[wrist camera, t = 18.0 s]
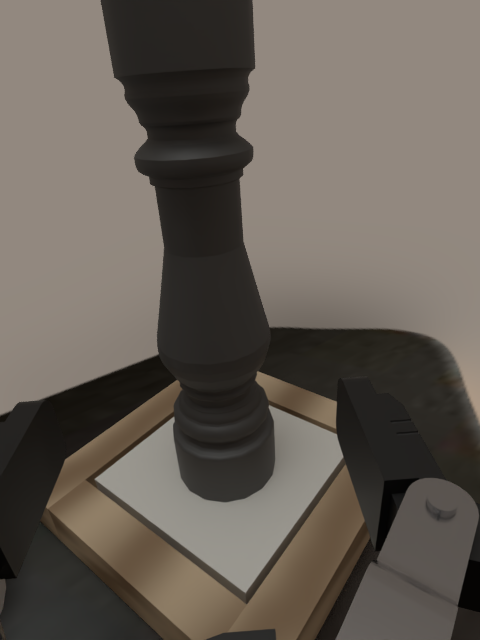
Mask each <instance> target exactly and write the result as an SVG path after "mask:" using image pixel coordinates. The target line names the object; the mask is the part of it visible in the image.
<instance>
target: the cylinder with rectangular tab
mask: <svg viewBox="0 0 480 640" xmlns="http://www.w3.org/2000/svg"><path fill="white" fill-rule="evenodd" d="M5 592H6V583H5V579H0V614H1V611H2V609H3V605H4V598H5Z"/></svg>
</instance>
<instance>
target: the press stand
mask: <svg viewBox="0 0 480 640" xmlns="http://www.w3.org/2000/svg"><path fill="white" fill-rule="evenodd" d="M255 381H257V383H258V384H259V385H260V386H261V387H263V388H264V390H265V393H266V395H267V398H268V401H269V405H270V406H272V407H275V408H277V409H279V410H282V411H284V412H286V413H288V414H291V415H293V416H295V417H298V418H300V419H302V420H305V421H307V422H309V423H312V424H314V425H316V426H319V427H321V428H323V429H325V430H328V431H330V432H332V433H335V434H337V430H336V410H337V402H336V401H333V400H330V399H328V398H325V397H323V396H320V395H317V394H315V393H312V392H310V391H307V390H304V389H302V388H299V387H297V386H294V385H292V384H289V383H286V382H284V381H281V380H279V379H276V378H273V377H271V376H268V375H266V374H263V373H260V372H258V371H257V376H256V379H255ZM181 390H182V388H181V387H180V382H179V381H178V380H176V381H175V382H174V383H172V384H171V385H169V386H168V387H167V388H165V389H164V390H162V391H161V392H160V393H158V394H157V395H155V396H154V397H153V398H151V399H150V400H148V401H147V402H146V403H144V404H143V405H141V406H140V407H139V408H137V409H136V410H134V411H133V412H132V413H130V414H129V415H127V416H126V417H125V418H123V419H122V420H120V421H119V422H118V423H116V424H115V425H113V426H112V427H111V428H109V429H108V430H106V431H105V432H104V433H102V434H101V435H99V436H98V437H97V438H95V439H94V440H92V441H91V442H90V443H88V444H87V445H85V446H84V447H82V448H81V449H80V450H78V451H77V452H75V453H74V454H73V455H71V456H70V457H68V458H67V459H66V460H65V461H64V464H63V467H62V469H61V472H60V474H59V477H58V479H57V481H56V484H55V486H54V489H53V491H52V494H51V496H50V498H49V501H48V503H47V506H46V508H45V510H44V513H43V515H42V518H41V520H40V521H41V522H42V523H43V524H44V525H45V526H46V527H47V528H48V529H49V530H50V531H51V532H52V533H53V534H54V535H55V536H56V537H57V538H58V539H59V540H60V541H62V542H63V543H64V544H65V545H66V546H67V547H68V548H69V549H70V550H71V551H72V552H73V553H74V554H75V555H76V556H77V557H78V558H79V559H80V560H81V561H82V562H83V563H84V564H86V565H87V566H88V567H89V568H90V569H91V570H92V571H93V572H94V573H95V574H96V575H97V576H98V577H99V578H100V579H101V580H102V581H103V582H104V583H105V584H106V585H107V586H108V587H110V588H111V589H112V590H113V591H114V592H115V593H116V594H117V595H118V596H119V597H120V598H121V599H122V600H123V601H124V602H125V603H126V604H127V605H128V606H129V607H130V608H131V609H132V610H134V611H135V612H136V613H137V614H138V615H139V616H140V617H141V618H142V619H143V620H144V621H145V622H146V623H147V624H148V625H149V626H150V627H151V628H152V629H153V630H154V631H155V632H156V633H158V634H159V635H160V636H161V637H162V638H163V639H164V640H206V639H208V638H211V637H214V636H216V635H219V634H221V633H226V632H239V631H252V630H264V629H275V631H276V640H315V638H316V637H317V635H318V633H319V631H320V629H321V627H322V626H323V624H324V622H325V620H326V618H327V616H328V614H329V613H330V611H331V609H332V607H333V605H334V603H335V602H336V600H337V598H338V596H339V594H340V592H341V590H342V589H343V587H344V585H345V583H346V581H347V579H348V578H349V576H350V574H351V572H352V570H353V568H354V567H355V565H356V563H357V561H358V559H359V557H360V555H361V554H362V552H363V550H364V548H365V546H366V544H367V543H368V541H369V539H370V535H369V532H368V529H367V526H366V523H365V520H364V517H363V514H362V511H361V508H360V505H359V502H358V499H357V496H356V493H355V490H354V487H353V484H352V481H351V478H350V475H349V472H348V469H347V466H346V464H345V466H344V467H343V468H342V470H341V471H340V473H339V474H338V476H337V477H336V478H335V480H334V481H333V483H332V484H331V485H330V487H329V488H328V490H327V491H326V493H325V494H324V495H323V497H322V498H321V500H320V501H319V503H318V504H317V505H316V507H315V508H314V510H313V511H312V513H311V514H310V515H309V517H308V518H307V520H306V521H305V523H304V524H303V525H302V527H301V528H300V530H299V531H298V533H297V534H296V535H295V537H294V538H293V540H292V541H291V543H290V544H289V545H288V547H287V548H286V550H285V551H284V553H283V554H282V555H281V557H280V558H279V560H278V561H277V563H276V564H275V565H274V567H273V568H272V570H271V571H270V573H269V574H268V575H267V577H266V578H265V580H264V581H263V583H262V584H261V585H260V587H259V588H258V590H257V591H256V593H255V594H254V595H253V597H252V598H251V600H250V601H249V602H248V604H246V603H244V602H243V601H242V600H240V599H239V598H238V597H237V596H235V595H234V594H233V593H231V592H230V591H229V590H228V589H226V588H225V587H224V586H222V585H221V584H220V583H218V582H217V581H216V580H215V579H213V578H212V577H211V576H209V575H208V574H207V573H205V572H204V571H203V570H202V569H200V568H199V567H198V566H196V565H195V564H194V563H193V562H191V561H190V560H189V559H187V558H186V557H185V556H183V555H182V554H181V553H180V552H178V551H177V550H176V549H174V548H173V547H172V546H171V545H169V544H168V543H167V542H165V541H164V540H163V539H161V538H160V537H159V536H158V535H156V534H155V533H154V532H152V531H151V530H150V529H148V528H147V527H146V526H145V525H143V524H142V523H141V522H139V521H138V520H137V519H136V518H134V517H133V516H132V515H130V514H129V513H128V512H126V511H125V510H124V509H123V508H121V507H120V506H119V505H117V504H116V503H115V502H114V501H112V500H111V499H110V498H108V497H107V496H106V495H104V494H103V493H102V492H101V491H99V490H98V488H97V485H96V482H95V478H97V477H98V476H99V475H101V474H102V473H103V472H104V471H106V470H107V469H108V468H109V467H111V466H112V465H113V464H114V463H116V462H117V461H118V460H120V459H121V458H122V457H123V456H125V455H126V454H127V453H128V452H130V451H131V450H132V449H134V448H135V447H136V446H137V445H139V444H140V443H141V442H142V441H144V440H145V439H146V438H147V437H149V436H150V435H151V434H153V433H154V432H155V431H156V430H158V429H159V428H160V427H161V426H163V425H164V424H165V423H167V422H168V421H169V420H170V419H172V418H173V417H174V403H175V401H176V399H177V397H178V395H179V393H180V391H181Z"/></svg>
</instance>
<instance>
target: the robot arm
mask: <svg viewBox="0 0 480 640" xmlns="http://www.w3.org/2000/svg"><path fill="white" fill-rule="evenodd" d="M336 430H337V437H338V441H339V445H340V448H341V451H342V454H343V457H344V460H345V463H346V466H347V469H348V472H349V475H350V478H351V481H352V484H353V487H354V490H355V493H356V496H357V499H358V502H359V505H360V508H361V511H362V514H363V517H364V520H365V523H366V526H367V529H368V532H369V535H370V538H371V541H372V544H373V547H374V550H375V551H381V552H380V554H379V556H378V558H377V560H376V561H374V560H373V561H372V562H371V563H370V565H369V566H368V568H367V570H366V572H365V575H364V577H363V579H362V581H361V584H360V586H359V588H358V591H357V593H356V595H355V597H354V600H353V602H352V604H351V606H350V609H349V611H348V613H347V615H346V618H345V620H344V622H343V625H342V627H341V629H340V631H339V634H338V636H337V638H336V640H450V639H451V635H452V631H453V627H454V623H455V619H456V614H457V610H458V607H461V608H465V609H469V610H473V611H477V612H480V504H478V503H475V502H474V500H473V499H472V498H471V496H470V495H469V494H468V493H467V492H466V491H464V490H463V489H462V488H460V487H459V486H457V485H455V484H453V483H451V482H449V481H447V480H446V479H445V477H444V475H443V474H442V472H441V470H440V468H439V467H438V465H437V463H436V461H435V460H434V458H433V456H432V454H431V453H430V451H429V449H428V447H427V446H426V444H425V442H424V440H423V439H422V437H421V435H420V434H418V430H417V428H416V427H415V425H414V423H413V422H411V418H410V416H409V414H408V413H407V411H406V409H405V407H404V406H403V404H401V403H400V402H399V401H398V400H396V399H395V398H394V397H393V396H391V395H390V394H389V393H384V394H376V392H375V390H374V388H373V386H372V384H371V382H370V380H369V379H368V377H366V376H363V377H350V378H340V379H339V381H338V391H337V410H336ZM65 455H66V446H65V441H64V438H63V435H62V432H61V429H60V426H59V423H58V420H57V417H56V414H55V411H54V409H53V406H52V404H51V402H50V401H48V400H42V401H29V402H19V403H18V404H17V405H16V406H15V407H14V409H13V410H12V412H11V413H10V415H9V417H8V418H7V420H6V421H5V422H0V579H11V578H17V576H18V573H19V571H20V568H21V566H22V563H23V561H24V559H25V556H26V554H27V551H28V549H29V547H30V544H31V542H32V539H33V537H34V535H35V532H36V530H37V527H38V525H39V522H40V520H41V518H42V515H43V513H44V510H45V508H46V506H47V503H48V501H49V498H50V496H51V494H52V491H53V489H54V486H55V484H56V481H57V479H58V477H59V474H60V472H61V469H62V467H63V464H64V461H65ZM0 640H6V637H5V634H4V630H3V627H2V624H1V621H0ZM206 640H276V631H275V629H264V630H252V631H239V632H226V633H221V634H219V635H216V636H214V637H211V638H208V639H206Z"/></svg>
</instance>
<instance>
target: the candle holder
mask: <svg viewBox="0 0 480 640" xmlns="http://www.w3.org/2000/svg"><path fill="white" fill-rule="evenodd" d="M101 5H102V10H103V16H104V21H105V27H106V33H107V38H108V44H109V50H110V55H111V61H112V67H113V73H114V78H116V79H118V80H119V81H120V82H121V83H122V84H123V86H124V89H125V100H126V101H127V103H128V104H129V105H130V107H131V108H132V109H133V110H134V111H135V113H136V114H137V116H138V119H139V123H140V124H141V126H143V127H144V128H145V129H146V131H147V135H148V139H147V141H146V142H145V143H144V144H143V145H142V146H141V147H140V148H139V150H138V151H137V152H136V154H135V157H134V159H135V165H136V168H137V170H138V171H139V172H140V173H142V174H143V175H146V176H149V179H150V184H151V185H153V186H155V190H156V196H157V203H158V209H159V215H160V222H161V229H162V235H163V242H164V257H163V270H162V283H161V296H160V308H159V320H158V331H157V346H158V352H159V357H160V359H161V360H162V362H163V364H164V366H165V367H166V368H167V369H168V370H169V371H170V372H171V373H172V374H173V375H174V376H175V378H176V379H177V380H178V381H179V382H180V387H181V388H182V390H181V391H180V393H179V395H178V397H177V399H176V401H175V403H174V419H175V422H174V424H173V435H174V443H175V449H176V454H177V459H178V465H179V470H180V476H181V479H182V480H183V482H184V483H185V485H186V486H187V488H188V489H189V491H191V492H192V493H194V494H196V495H198V496H200V497H201V498H203V499H205V500H211V501H218V502H230V501H235V500H240V499H245V498H247V497H249V496H251V495H252V494H254V493H256V492H257V491H259V490H261V489H262V488H263V487H264V486H265V484H266V483H267V482H268V480H269V479H270V478H271V476H272V475H273V470H274V465H275V437H274V420H273V418H272V415H271V412H270V410H269V408H268V407H269V401H268V398H267V395H266V393H265V390H264V388H263V387H261V386H260V385H259V384H258V383H257V381H255V379H256V376H257V371H258V370H259V369H260V367H261V366H262V364H263V362H264V360H265V357H266V354H267V350H268V347H269V343H270V328H269V325H268V322H267V318H266V315H265V312H264V308H263V305H262V302H261V299H260V296H259V292H258V289H257V285H256V282H255V279H254V276H253V272H252V269H251V266H250V262H249V259H248V255H247V252H246V249H245V245H244V242H243V229H242V213H241V198H240V182H239V178H240V177H241V176H243V168H244V167H245V166H247V165H248V164H249V163H250V162H251V161H252V159H253V146H252V145H251V144H250V143H249V142H247V141H246V140H245V139H244V138H242V137H241V136H239V135H238V133H237V132H236V121H237V119H238V118H239V117H240V115H241V107H242V104H243V102H244V100H245V98H246V97H247V95H248V92H249V84H248V76H249V74H250V72H251V71H252V70H253V69H255V53H254V28H253V4H252V0H101Z"/></svg>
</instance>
